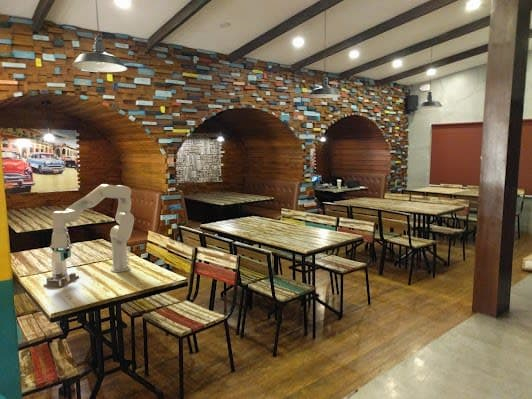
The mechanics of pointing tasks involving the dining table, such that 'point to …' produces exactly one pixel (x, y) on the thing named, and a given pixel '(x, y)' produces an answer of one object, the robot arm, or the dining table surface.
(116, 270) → the robot arm
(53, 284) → the cradle
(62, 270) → the jar
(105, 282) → the dining table surface
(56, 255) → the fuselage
